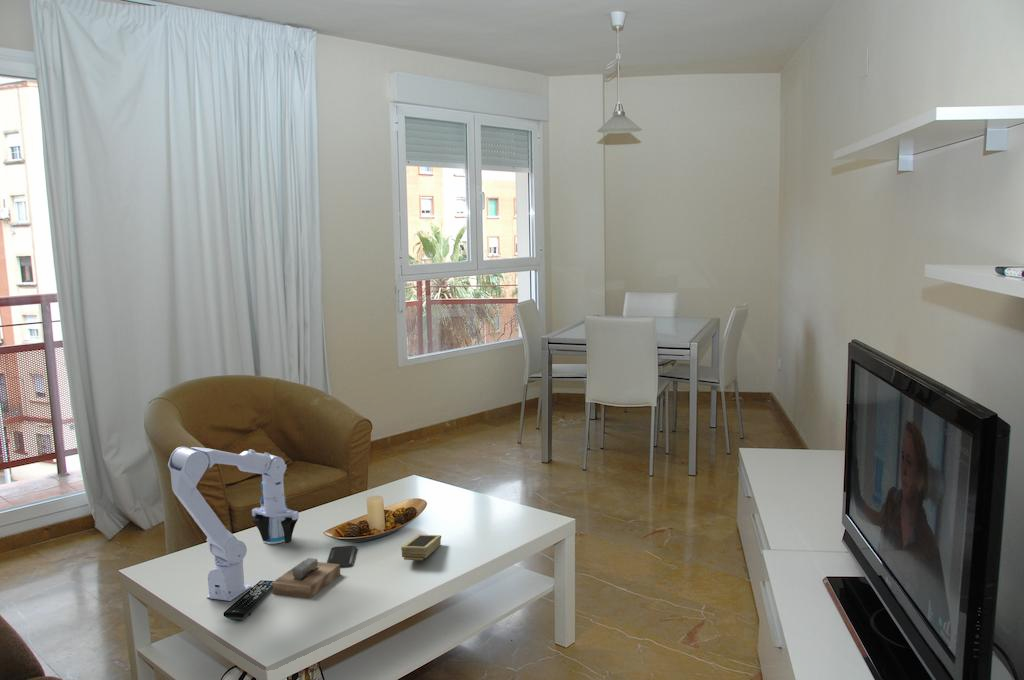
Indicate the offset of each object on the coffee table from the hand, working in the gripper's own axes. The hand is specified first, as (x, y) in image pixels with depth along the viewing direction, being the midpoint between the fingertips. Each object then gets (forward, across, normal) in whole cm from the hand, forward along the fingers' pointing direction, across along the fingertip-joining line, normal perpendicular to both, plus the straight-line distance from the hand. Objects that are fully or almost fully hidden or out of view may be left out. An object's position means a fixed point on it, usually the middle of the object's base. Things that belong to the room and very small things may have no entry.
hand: (276, 541), depth 230 cm
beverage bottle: (+10, +17, -23) cm, 30 cm away
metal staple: (+10, -12, +4) cm, 16 cm away
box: (+10, -35, -24) cm, 44 cm away
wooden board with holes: (+10, -12, +4) cm, 16 cm away
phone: (+10, -12, -15) cm, 22 cm away
